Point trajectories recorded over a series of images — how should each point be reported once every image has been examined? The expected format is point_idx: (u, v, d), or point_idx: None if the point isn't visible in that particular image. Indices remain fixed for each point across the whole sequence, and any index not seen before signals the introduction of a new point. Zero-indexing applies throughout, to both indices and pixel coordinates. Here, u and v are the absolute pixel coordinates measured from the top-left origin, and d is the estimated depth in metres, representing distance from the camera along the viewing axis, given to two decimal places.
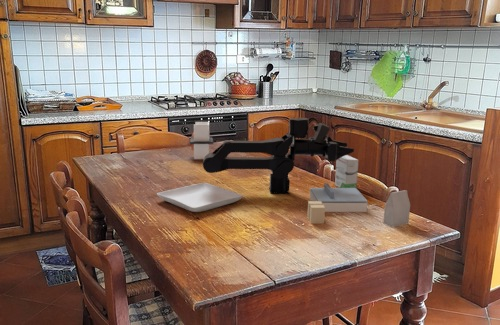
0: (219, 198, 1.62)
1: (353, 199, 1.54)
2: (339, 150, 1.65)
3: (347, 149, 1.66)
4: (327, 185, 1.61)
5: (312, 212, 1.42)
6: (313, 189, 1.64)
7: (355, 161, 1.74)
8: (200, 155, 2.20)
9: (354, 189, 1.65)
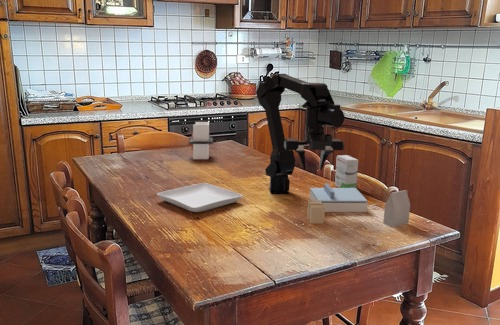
0: (219, 198, 1.62)
1: (353, 199, 1.54)
2: None
3: (302, 162, 1.55)
4: (327, 185, 1.61)
5: (312, 212, 1.42)
6: (313, 189, 1.64)
7: (355, 161, 1.74)
8: (199, 155, 2.20)
9: (354, 189, 1.65)
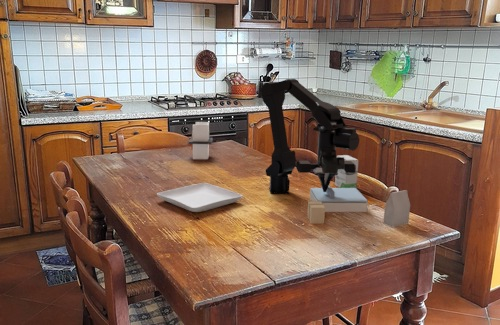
0: (219, 198, 1.62)
1: (353, 199, 1.54)
2: None
3: (322, 184, 1.57)
4: None
5: (312, 212, 1.42)
6: (313, 189, 1.64)
7: (355, 161, 1.74)
8: (199, 155, 2.20)
9: (355, 189, 1.65)
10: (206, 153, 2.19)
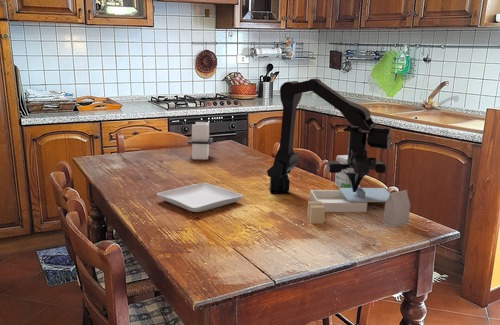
0: (219, 198, 1.62)
1: (383, 199, 1.54)
2: None
3: (352, 184, 1.58)
4: None
5: (312, 212, 1.42)
6: (342, 189, 1.64)
7: None
8: (198, 155, 2.19)
9: (383, 189, 1.65)
10: (205, 153, 2.19)
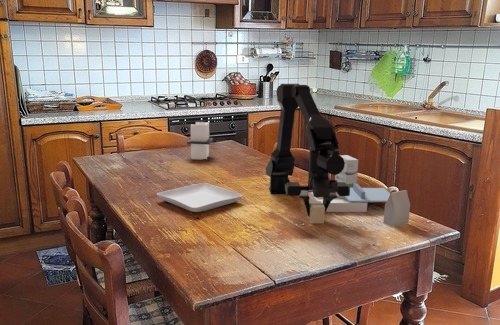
0: (219, 198, 1.62)
1: (384, 199, 1.54)
2: None
3: (306, 208, 1.44)
4: (357, 185, 1.61)
5: (312, 212, 1.42)
6: None
7: (355, 161, 1.74)
8: (197, 155, 2.19)
9: (383, 189, 1.65)
10: (204, 153, 2.19)
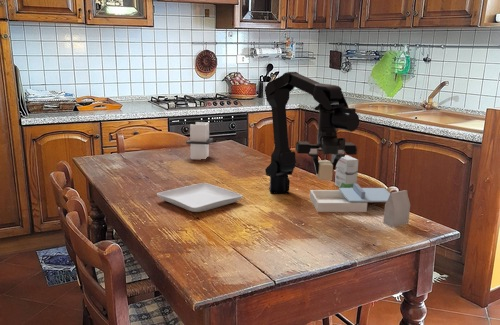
0: (219, 198, 1.62)
1: (384, 199, 1.54)
2: None
3: None
4: (357, 185, 1.61)
5: (321, 169, 1.50)
6: (342, 189, 1.64)
7: (355, 161, 1.74)
8: (196, 155, 2.19)
9: (383, 189, 1.65)
10: (203, 153, 2.19)
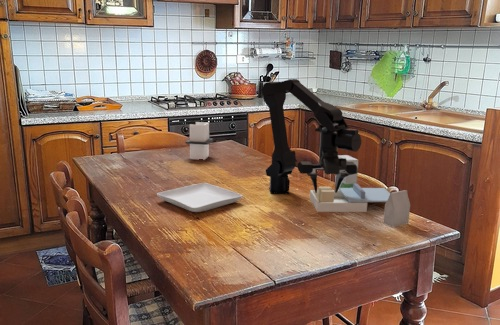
0: (219, 198, 1.62)
1: (384, 199, 1.54)
2: None
3: (314, 185, 1.58)
4: (357, 185, 1.61)
5: (322, 196, 1.56)
6: (342, 189, 1.64)
7: (355, 161, 1.74)
8: (196, 155, 2.19)
9: (383, 189, 1.65)
10: (203, 153, 2.18)
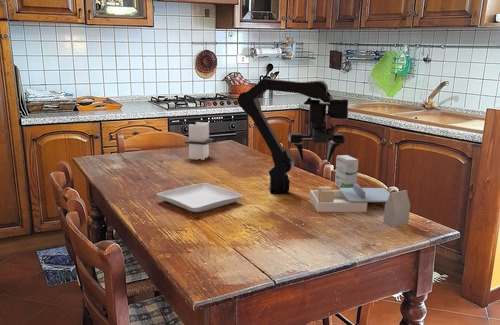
0: (219, 198, 1.62)
1: (384, 199, 1.54)
2: None
3: (300, 155, 1.66)
4: (357, 185, 1.61)
5: (322, 196, 1.56)
6: (342, 189, 1.64)
7: (355, 161, 1.74)
8: (195, 155, 2.19)
9: (383, 189, 1.65)
10: (202, 154, 2.18)
